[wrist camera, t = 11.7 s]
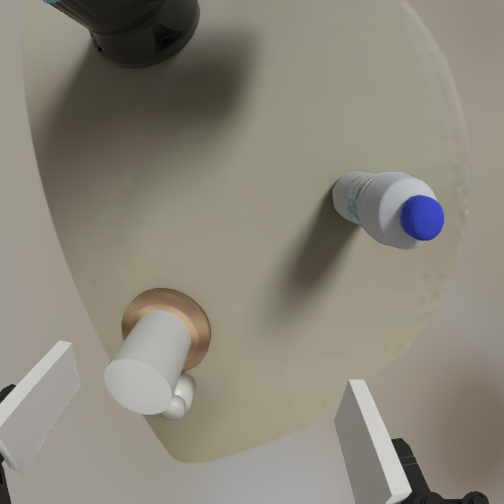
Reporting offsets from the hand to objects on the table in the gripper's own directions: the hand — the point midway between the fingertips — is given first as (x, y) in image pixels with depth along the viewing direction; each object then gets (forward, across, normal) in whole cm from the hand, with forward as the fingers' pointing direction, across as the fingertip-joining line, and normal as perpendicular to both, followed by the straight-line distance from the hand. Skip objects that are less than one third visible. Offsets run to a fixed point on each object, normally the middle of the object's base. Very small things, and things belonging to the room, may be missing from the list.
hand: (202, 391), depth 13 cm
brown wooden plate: (+29, -9, -14) cm, 33 cm away
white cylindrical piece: (+27, -9, -14) cm, 31 cm away
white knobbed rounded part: (+29, -7, -24) cm, 38 cm away
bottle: (+29, +14, +8) cm, 33 cm away
